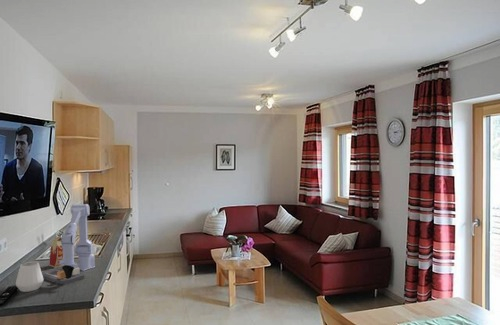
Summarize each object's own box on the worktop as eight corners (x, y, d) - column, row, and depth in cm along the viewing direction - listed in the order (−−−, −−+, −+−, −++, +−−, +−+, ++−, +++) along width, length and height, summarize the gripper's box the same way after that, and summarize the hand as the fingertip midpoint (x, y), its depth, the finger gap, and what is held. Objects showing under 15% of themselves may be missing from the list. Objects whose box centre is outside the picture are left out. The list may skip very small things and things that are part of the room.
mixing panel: (58, 271, 232) (58, 268, 232) (84, 278, 219) (84, 274, 219) (38, 277, 220) (38, 273, 220) (63, 284, 207) (63, 281, 207)
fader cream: (76, 272, 221) (76, 266, 221) (79, 273, 220) (79, 267, 220) (69, 274, 217) (69, 268, 217) (72, 275, 216) (72, 269, 216)
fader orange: (64, 275, 216) (64, 269, 216) (67, 276, 214) (67, 270, 214) (57, 277, 212) (57, 271, 212) (60, 278, 210) (60, 272, 210)
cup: (13, 288, 202) (12, 263, 202) (40, 282, 211) (39, 258, 211) (18, 295, 192) (18, 269, 192) (46, 288, 202) (46, 263, 201)
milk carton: (69, 264, 246) (68, 235, 246) (55, 268, 239) (55, 237, 238) (61, 262, 252) (61, 233, 251) (48, 265, 244) (47, 236, 243)
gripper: (54, 254, 210) (54, 278, 210) (69, 258, 203) (69, 282, 203) (65, 251, 216) (66, 274, 216) (81, 255, 209) (81, 278, 209)
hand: (68, 278), depth 210 cm, fingers closed
